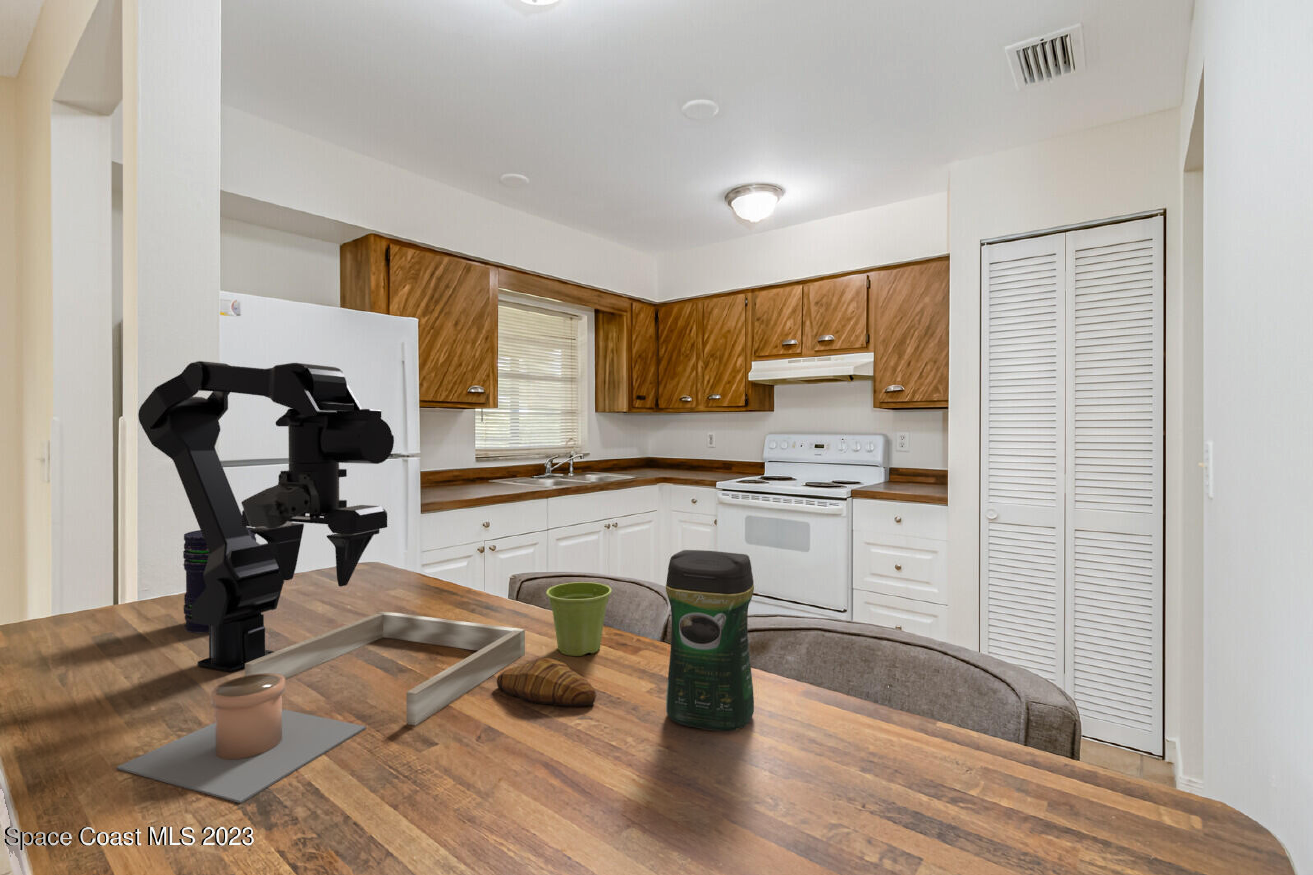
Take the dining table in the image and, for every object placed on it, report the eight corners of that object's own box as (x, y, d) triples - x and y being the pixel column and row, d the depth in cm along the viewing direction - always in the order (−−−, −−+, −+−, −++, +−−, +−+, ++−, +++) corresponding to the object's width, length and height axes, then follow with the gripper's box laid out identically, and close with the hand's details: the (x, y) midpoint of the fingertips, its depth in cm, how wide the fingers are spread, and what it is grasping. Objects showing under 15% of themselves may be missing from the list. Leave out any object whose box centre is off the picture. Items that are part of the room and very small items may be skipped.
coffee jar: (759, 709, 71) (761, 548, 71) (743, 741, 64) (745, 562, 64) (680, 695, 75) (681, 542, 75) (656, 724, 68) (657, 554, 67)
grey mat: (116, 768, 58) (116, 766, 58) (256, 705, 72) (256, 703, 72) (240, 803, 53) (240, 801, 53) (366, 728, 66) (366, 726, 66)
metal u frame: (245, 692, 75) (244, 663, 75) (382, 633, 96) (382, 611, 96) (415, 725, 67) (415, 693, 67) (524, 653, 88) (525, 629, 88)
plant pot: (600, 664, 85) (601, 600, 85) (536, 658, 87) (536, 596, 86) (618, 641, 94) (618, 583, 94) (559, 636, 96) (559, 580, 96)
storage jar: (172, 626, 100) (171, 533, 99) (239, 610, 108) (238, 525, 108) (201, 637, 94) (200, 539, 94) (269, 620, 103) (268, 530, 102)
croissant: (480, 700, 74) (480, 658, 74) (514, 679, 80) (514, 640, 80) (579, 722, 69) (579, 677, 69) (607, 697, 75) (607, 656, 75)
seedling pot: (196, 754, 60) (195, 692, 60) (256, 726, 66) (255, 669, 66) (242, 766, 58) (241, 702, 58) (299, 735, 64) (299, 677, 64)
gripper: (199, 464, 75) (200, 592, 76) (317, 468, 69) (318, 607, 69) (281, 459, 86) (282, 571, 86) (390, 462, 80) (390, 583, 80)
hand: (314, 582), depth 80 cm, fingers open, 9 cm apart
